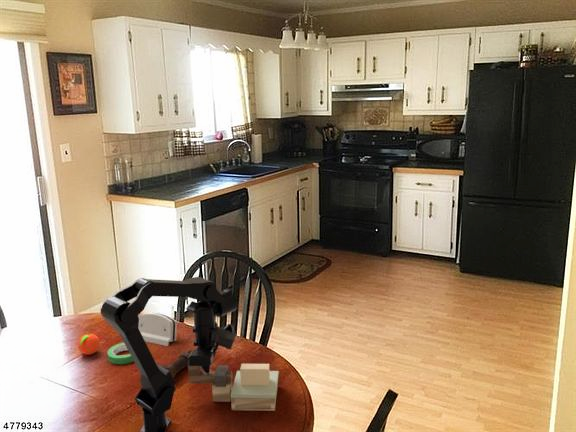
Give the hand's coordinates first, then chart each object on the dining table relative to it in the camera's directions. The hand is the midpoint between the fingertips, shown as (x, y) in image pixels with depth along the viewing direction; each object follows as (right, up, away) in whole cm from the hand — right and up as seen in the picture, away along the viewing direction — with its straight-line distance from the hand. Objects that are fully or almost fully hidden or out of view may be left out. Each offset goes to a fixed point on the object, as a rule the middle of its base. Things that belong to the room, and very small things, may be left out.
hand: (207, 372), depth 144 cm
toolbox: (+11, -8, +1) cm, 13 cm away
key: (+1, -3, +1) cm, 3 cm away
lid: (+14, -4, 0) cm, 14 cm away
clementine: (-45, -3, +28) cm, 53 cm away
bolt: (-11, -5, +17) cm, 21 cm away
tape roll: (-32, -3, +27) cm, 42 cm away
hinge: (-25, 0, +40) cm, 47 cm away
